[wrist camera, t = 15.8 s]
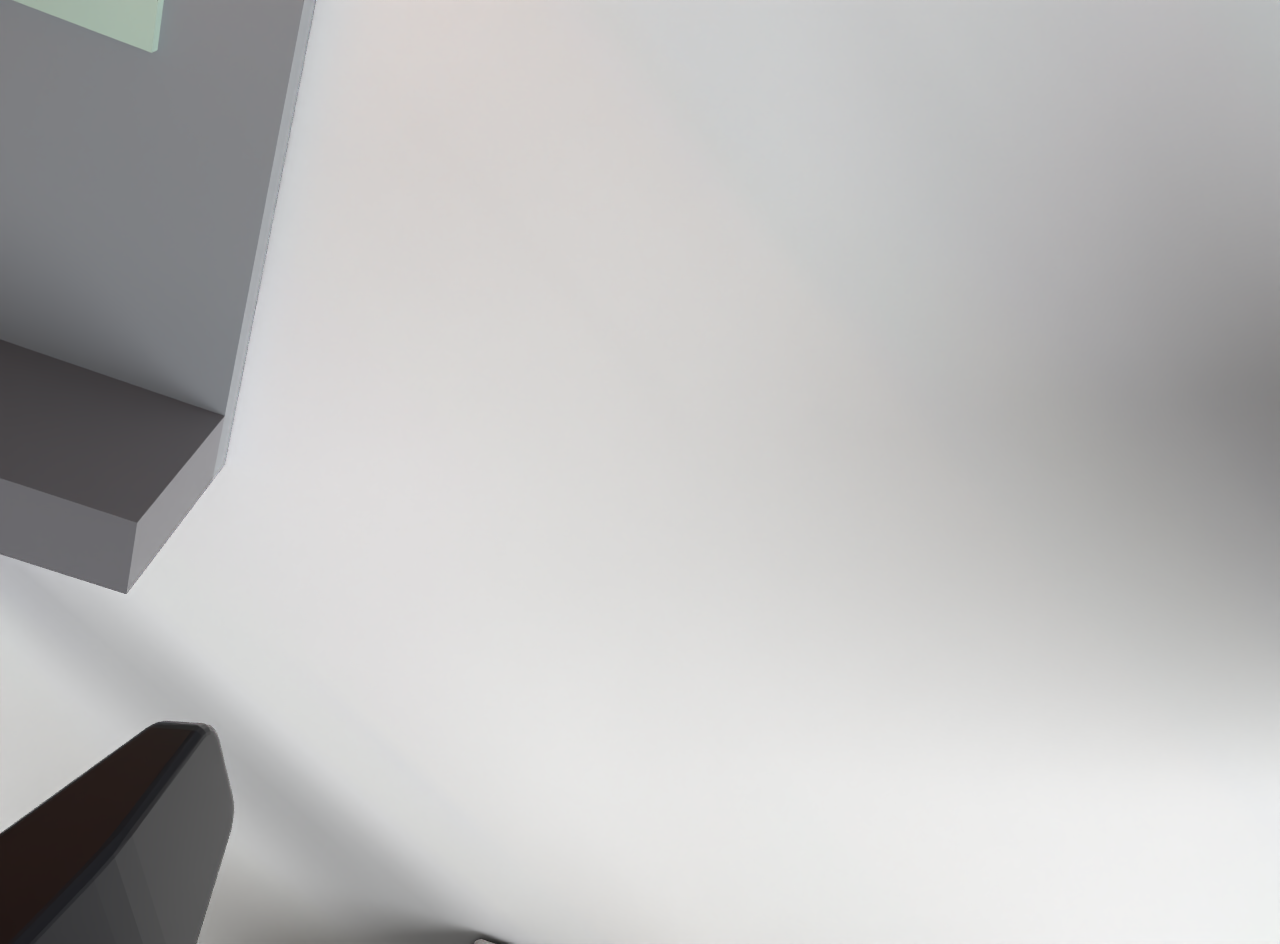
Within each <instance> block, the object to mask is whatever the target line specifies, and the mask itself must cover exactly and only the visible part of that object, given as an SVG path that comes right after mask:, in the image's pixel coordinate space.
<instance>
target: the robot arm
mask: <svg viewBox="0 0 1280 944" xmlns="http://www.w3.org/2000/svg"><path fill="white" fill-rule="evenodd" d="M233 814H234V802H233V796H232V791H231V787H230V783H229V779H228V775H227V770H226V766H225V762H224V758H223V754H222V749H221V745H220V741H219V738H218V735H217V733H216V731H215V730H214V729H213V728H212V727H211V726H210V725H206V724H204V723H189V722H173V721H162V722H157V723H155V724H153V725H151V726H149V727H148V728H146V729H145V730H143V731H142V732H140V733H139V734H138V735H136V736H135V737H133V738H132V739H131V740H129V741H128V742H127V743H125V744H124V745H122V746H121V747H120V748H118V749H117V750H115V751H114V752H113V753H111V754H110V755H108V756H107V757H106V758H104V759H103V760H102V761H100V762H99V763H97V764H96V765H95V766H93V767H92V768H90V769H89V770H88V771H86V772H85V773H83V774H82V775H81V776H79V777H78V778H77V779H75V780H74V781H72V782H71V783H70V784H68V785H67V786H65V787H64V788H63V789H61V790H60V791H59V792H57V793H56V794H54V795H53V796H52V797H50V798H49V799H47V800H46V801H45V802H43V803H42V804H40V805H39V806H38V807H36V808H35V809H34V810H32V811H31V812H29V813H28V814H27V815H25V816H24V817H22V818H21V819H20V820H18V821H17V822H15V823H14V824H13V825H11V826H10V827H9V828H7V829H6V830H4V831H3V832H2V833H0V944H196V943H197V940H198V937H199V934H200V930H201V927H202V924H203V921H204V917H205V914H206V911H207V907H208V904H209V901H210V898H211V894H212V891H213V888H214V885H215V881H216V878H217V875H218V872H219V868H220V865H221V862H222V858H223V855H224V852H225V849H226V845H227V842H228V839H229V836H230V832H231V828H232V823H233Z"/></svg>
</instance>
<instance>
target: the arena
mask: <svg viewBox="0 0 1280 944" xmlns="http://www.w3.org/2000/svg"><path fill="white" fill-rule="evenodd" d="M315 3H316V0H0V554H2V555H5V556H8V557H11V558H15V559H18V560H21V561H24V562H27V563H30V564H33V565H36V566H40V567H43V568H46V569H49V570H52V571H55V572H58V573H62V574H65V575H68V576H71V577H74V578H77V579H80V580H84V581H87V582H90V583H93V584H96V585H99V586H102V587H105V588H109V589H112V590H115V591H118V592H121V593H124V594H127V593H128V591H129V590H130V589H131V587H132V586H133V585H134V583H135V582H136V581H137V580H138V578H139V577H140V576H141V574H142V573H143V572H144V570H145V569H146V568H147V566H148V565H149V564H150V562H151V561H152V560H153V558H154V557H155V556H156V555H157V553H158V552H159V551H160V549H161V548H162V547H163V545H164V544H165V543H166V541H167V540H168V539H169V537H170V536H171V535H172V533H173V532H174V531H175V530H176V528H177V527H178V526H179V524H180V523H181V522H182V520H183V519H184V518H185V516H186V515H187V514H188V512H189V511H190V510H191V508H192V507H193V506H194V504H195V503H196V502H197V501H198V499H199V498H200V497H201V495H202V494H203V493H204V491H205V490H206V489H207V487H208V486H209V485H210V483H211V482H212V481H213V479H214V478H215V477H216V476H217V474H218V473H219V472H220V470H221V469H222V468H223V466H224V465H225V460H226V455H227V450H228V445H229V440H230V435H231V430H232V425H233V420H234V415H235V410H236V404H237V399H238V394H239V389H240V384H241V379H242V374H243V369H244V364H245V359H246V354H247V348H248V343H249V338H250V333H251V328H252V323H253V318H254V313H255V308H256V303H257V298H258V293H259V287H260V282H261V277H262V272H263V267H264V262H265V257H266V252H267V247H268V242H269V237H270V232H271V226H272V221H273V216H274V211H275V206H276V201H277V196H278V191H279V186H280V181H281V176H282V171H283V165H284V160H285V155H286V150H287V145H288V140H289V135H290V130H291V125H292V120H293V115H294V109H295V104H296V99H297V94H298V89H299V84H300V79H301V74H302V69H303V64H304V59H305V54H306V48H307V43H308V38H309V33H310V28H311V23H312V18H313V13H314V8H315Z"/></svg>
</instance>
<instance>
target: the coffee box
mask: <svg viewBox="0 0 1280 944" xmlns="http://www.w3.org/2000/svg"><path fill="white" fill-rule="evenodd" d="M474 944H495V943H492V942H489V941H486V940H482V939H479V940H476V941H475V942H474Z"/></svg>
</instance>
